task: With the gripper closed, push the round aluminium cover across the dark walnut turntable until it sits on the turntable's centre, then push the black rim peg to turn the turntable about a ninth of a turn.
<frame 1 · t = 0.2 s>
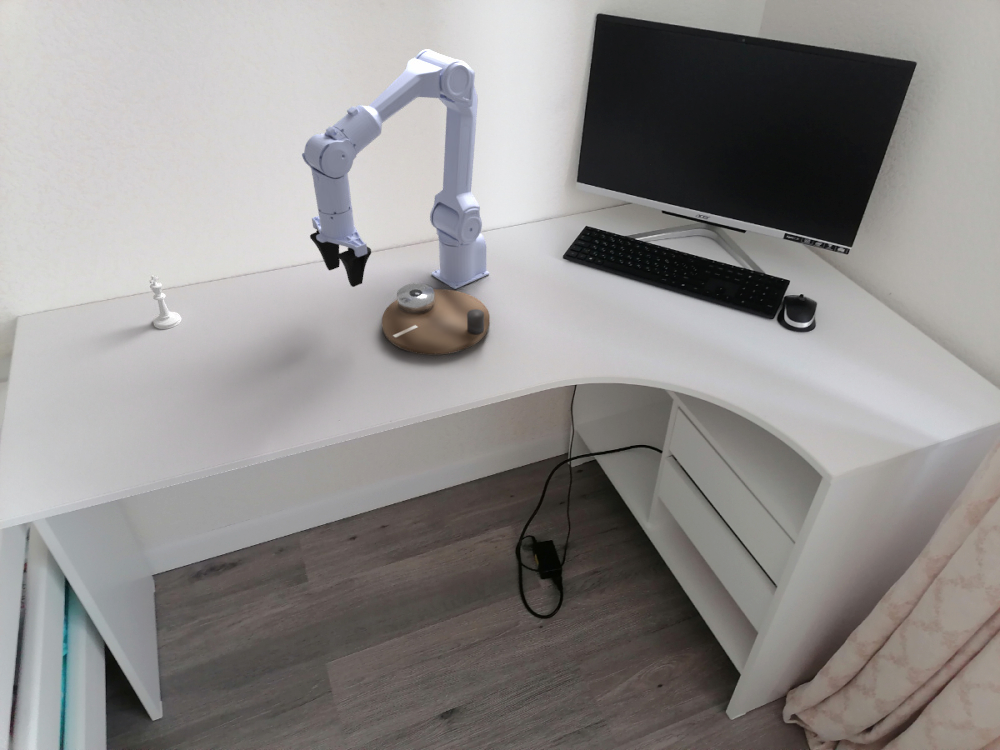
hand: (344, 276, 133), 10 cm above the table, tool pointing down, fingers open, 7 cm apart
cover: (416, 304, 139), point 2 cm above the table, touching turntable
turntable: (435, 312, 135), point 3 cm above the table, hinge at 0.0°, touching cover
chess piece: (167, 322, 138), on the table
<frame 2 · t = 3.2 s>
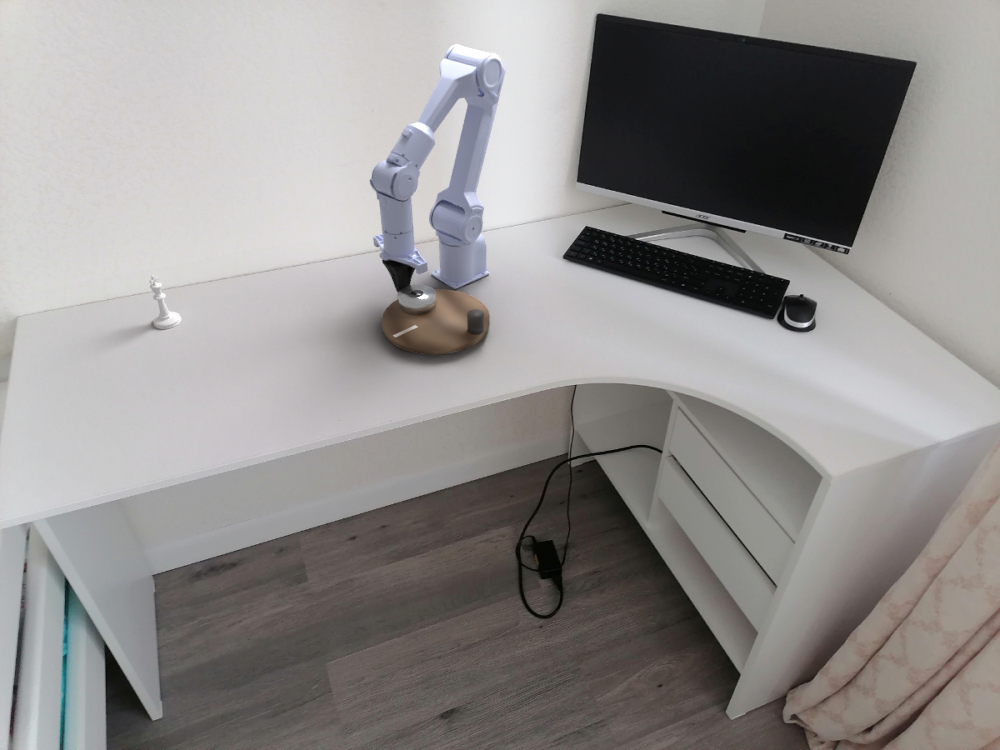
hand: (402, 291, 141), 3 cm above the table, tool pointing down, fingers closed
cover: (417, 304, 139), point 2 cm above the table, touching gripper
turntable: (435, 312, 135), point 3 cm above the table, hinge at 0.0°
everything else where it was.
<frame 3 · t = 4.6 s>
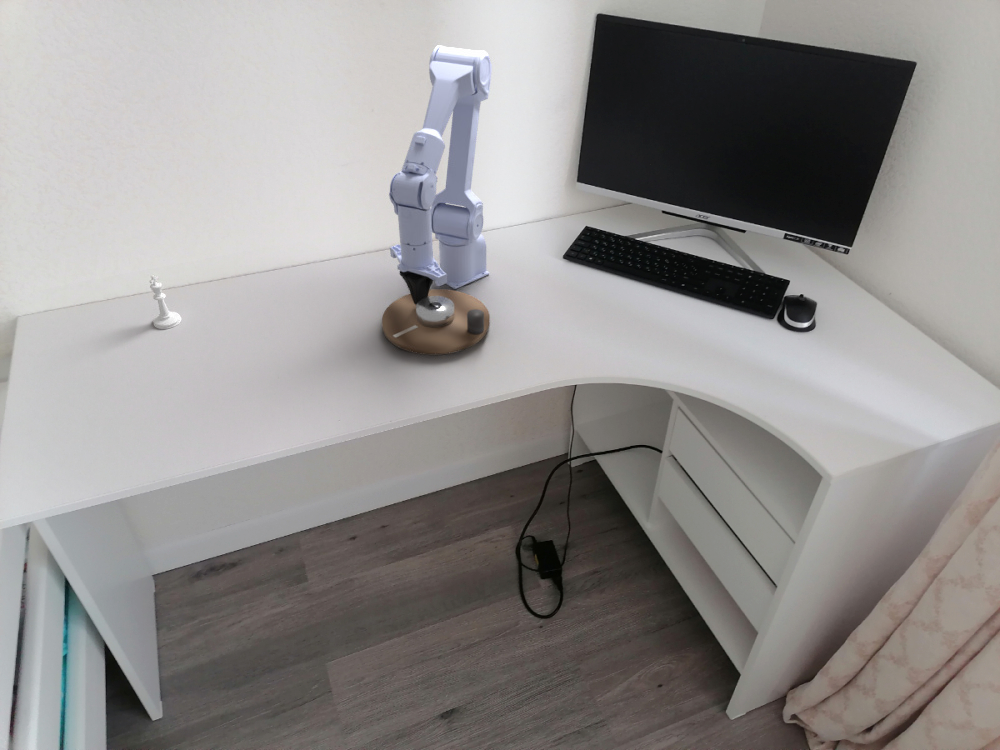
hand: (420, 303, 138), 3 cm above the table, tool pointing down, fingers closed
cover: (435, 317, 136), point 2 cm above the table, touching turntable
turntable: (435, 312, 135), point 3 cm above the table, hinge at 0.0°, touching cover
everything else where it was.
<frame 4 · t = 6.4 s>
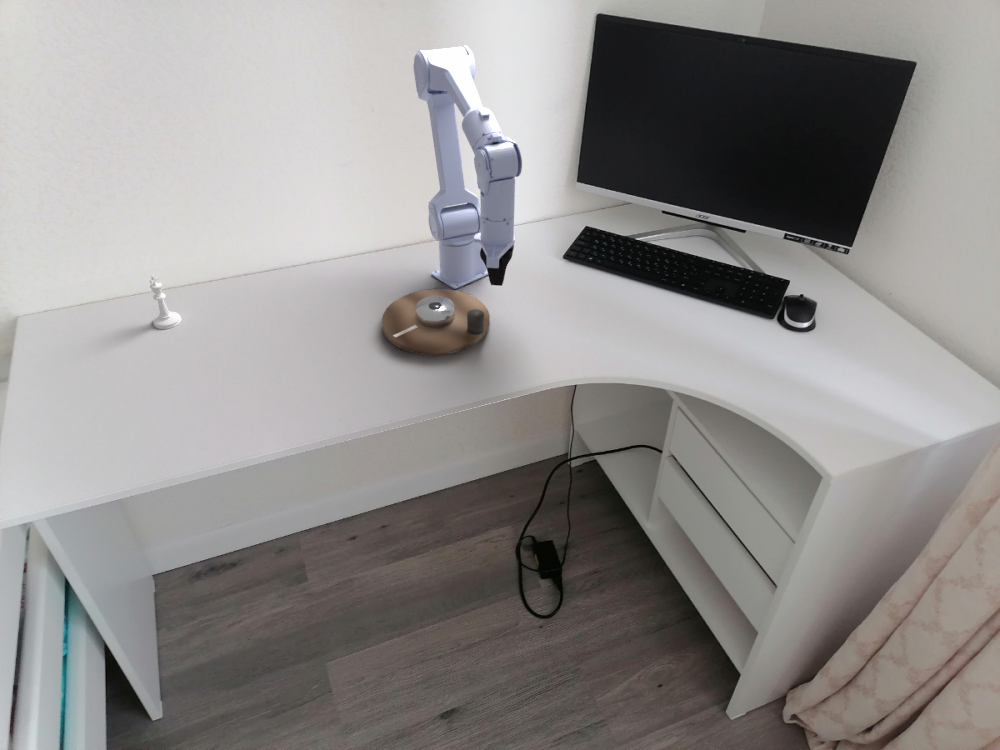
hand: (496, 283, 132), 9 cm above the table, tool pointing down, fingers closed
nothing on the table moved.
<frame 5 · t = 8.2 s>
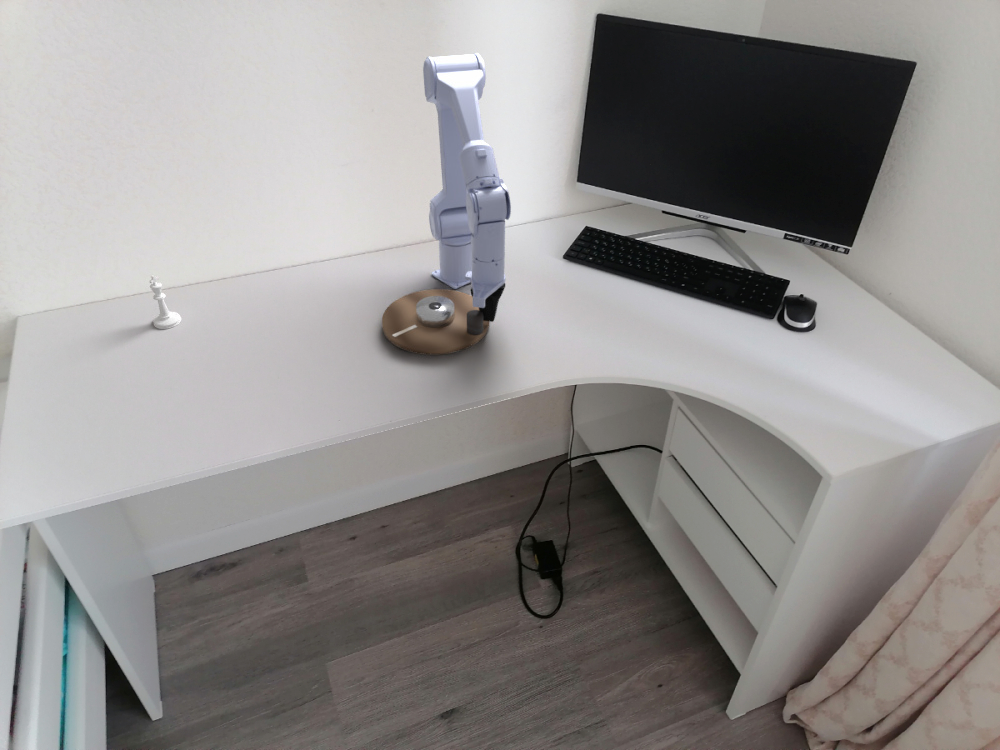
hand: (488, 320, 134), 3 cm above the table, tool pointing down, fingers closed
turntable: (435, 312, 135), point 3 cm above the table, hinge at -1.5°, touching cover, gripper
everything else where it was.
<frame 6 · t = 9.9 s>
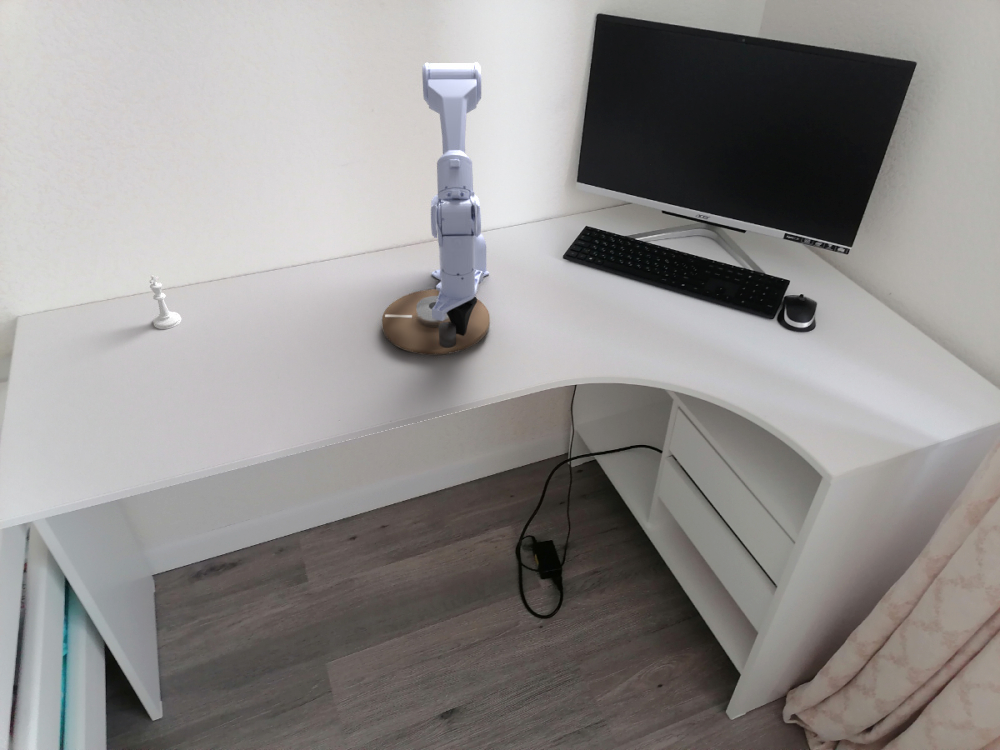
hand: (459, 333, 130), 3 cm above the table, tool pointing down, fingers closed
turntable: (435, 312, 135), point 3 cm above the table, hinge at -43.8°, touching cover, gripper
everything else where it was.
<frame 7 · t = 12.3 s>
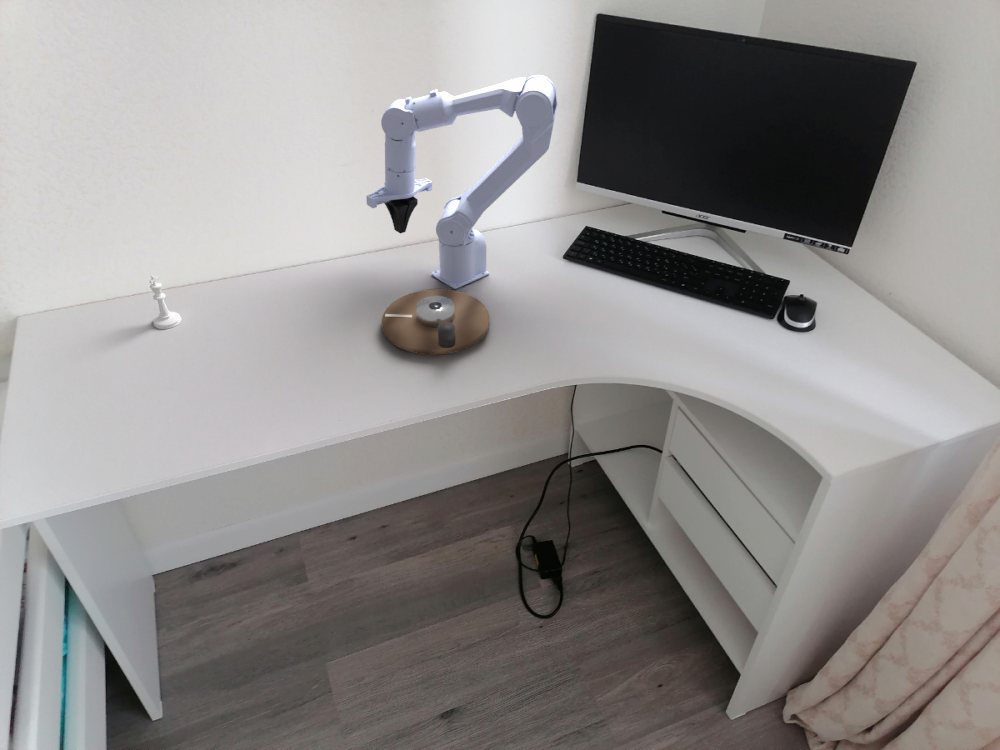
hand: (400, 230, 147), 10 cm above the table, tool pointing down, fingers closed
turntable: (435, 312, 135), point 3 cm above the table, hinge at -44.9°, touching cover
everything else where it was.
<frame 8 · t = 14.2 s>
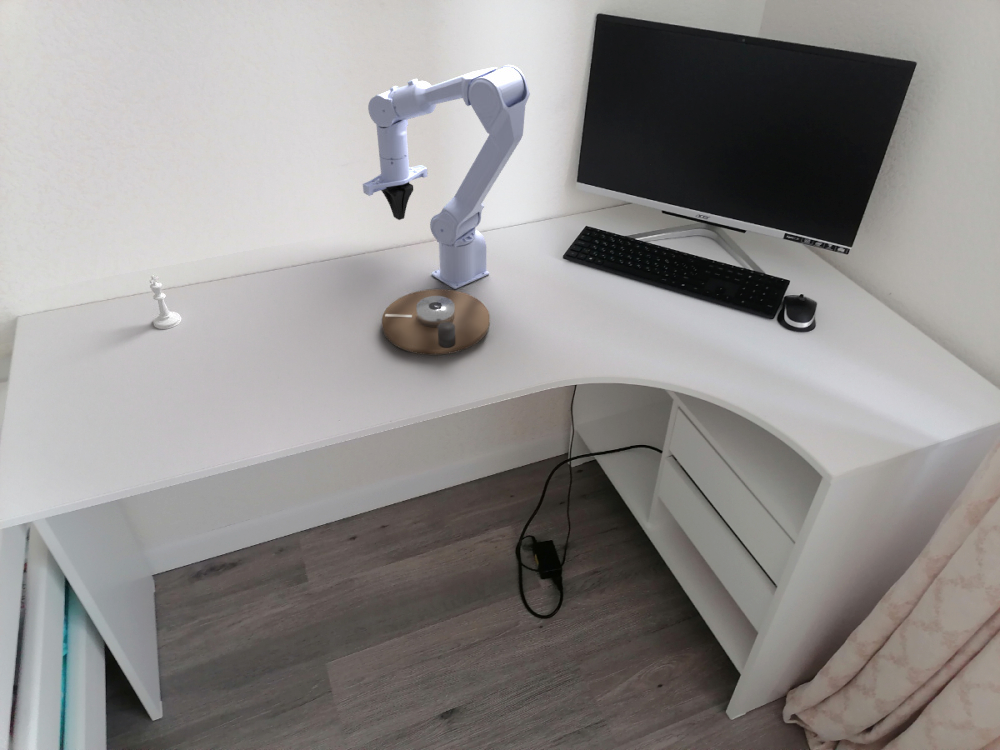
hand: (398, 217, 152), 9 cm above the table, tool pointing down, fingers closed
nothing on the table moved.
at the end: cover 0.1 cm from the turntable (horizontally); cover touching turntable; turntable at -45° (first picture: +0°) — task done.
